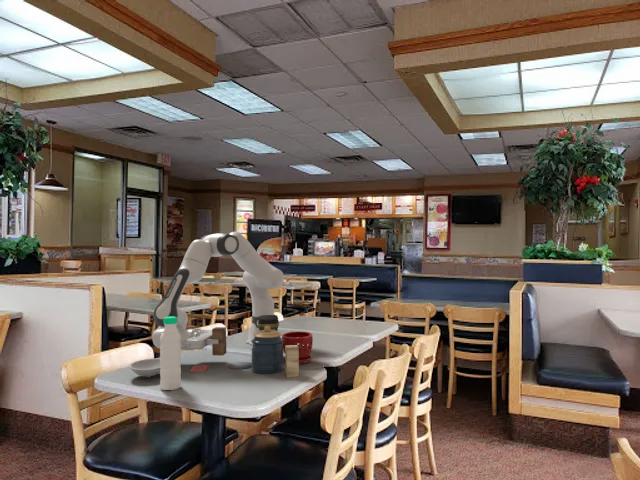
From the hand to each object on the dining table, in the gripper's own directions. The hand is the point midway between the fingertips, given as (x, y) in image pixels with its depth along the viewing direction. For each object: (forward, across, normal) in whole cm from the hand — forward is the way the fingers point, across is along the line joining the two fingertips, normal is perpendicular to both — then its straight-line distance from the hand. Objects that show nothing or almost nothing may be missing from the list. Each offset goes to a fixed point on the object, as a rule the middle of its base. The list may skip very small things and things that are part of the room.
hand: (221, 339), depth 202 cm
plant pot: (+31, +8, +11) cm, 34 cm away
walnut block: (-1, 0, +6) cm, 6 cm away
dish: (-21, -22, +10) cm, 32 cm away
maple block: (+33, -13, +10) cm, 37 cm away
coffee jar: (+16, +17, +11) cm, 26 cm away
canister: (+21, -6, +11) cm, 25 cm away
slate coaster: (+9, -2, +10) cm, 14 cm away
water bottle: (-6, -34, +10) cm, 36 cm away
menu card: (-7, -8, +11) cm, 15 cm away
